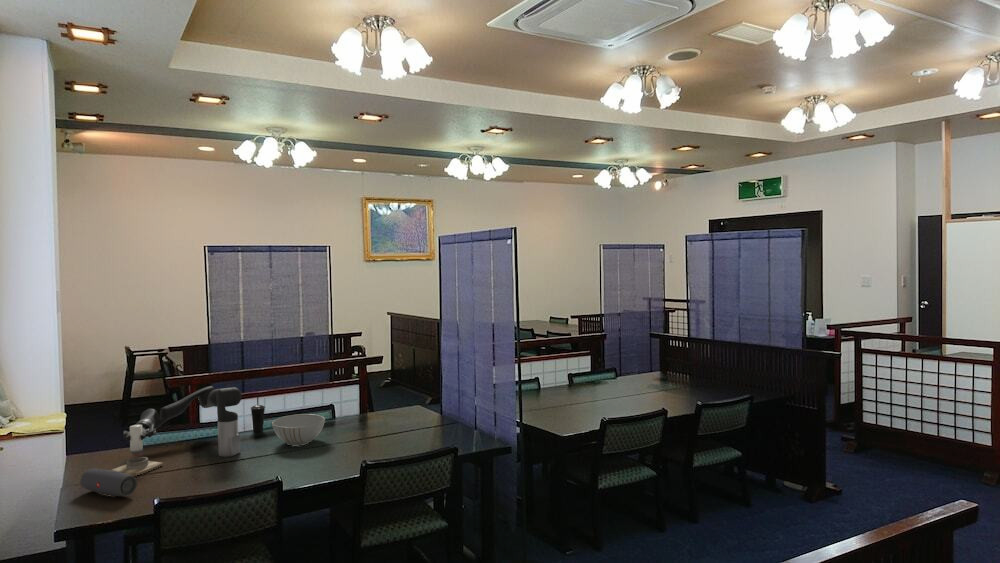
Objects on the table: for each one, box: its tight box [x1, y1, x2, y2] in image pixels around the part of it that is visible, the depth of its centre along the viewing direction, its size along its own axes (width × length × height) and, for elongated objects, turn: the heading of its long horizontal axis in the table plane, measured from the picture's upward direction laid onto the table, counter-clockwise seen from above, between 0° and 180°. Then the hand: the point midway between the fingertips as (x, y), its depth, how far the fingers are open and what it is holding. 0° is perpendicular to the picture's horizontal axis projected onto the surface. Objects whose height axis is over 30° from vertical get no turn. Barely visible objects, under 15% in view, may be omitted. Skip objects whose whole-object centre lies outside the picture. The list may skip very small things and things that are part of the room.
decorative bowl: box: [271, 413, 326, 446], centre depth 330 cm, size 27×27×12 cm
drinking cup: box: [250, 395, 266, 433], centre depth 351 cm, size 8×8×20 cm
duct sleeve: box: [129, 424, 144, 454], centre depth 288 cm, size 5×5×12 cm
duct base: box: [110, 456, 164, 477], centre depth 289 cm, size 15×15×4 cm
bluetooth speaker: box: [79, 468, 138, 497], centre depth 259 cm, size 23×9×10 cm, turn 69°
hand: (134, 438), depth 286 cm, fingers closed on duct sleeve, 5 cm apart
